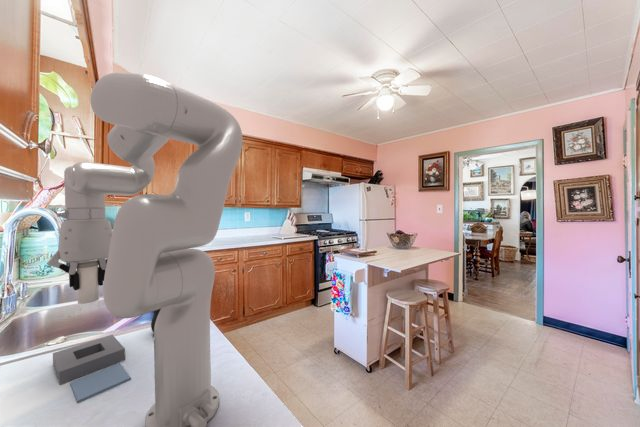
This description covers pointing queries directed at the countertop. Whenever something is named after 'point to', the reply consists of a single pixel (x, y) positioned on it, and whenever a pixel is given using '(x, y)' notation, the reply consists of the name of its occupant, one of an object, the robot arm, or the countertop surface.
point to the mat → (99, 382)
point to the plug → (88, 281)
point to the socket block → (87, 358)
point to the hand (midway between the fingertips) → (88, 286)
